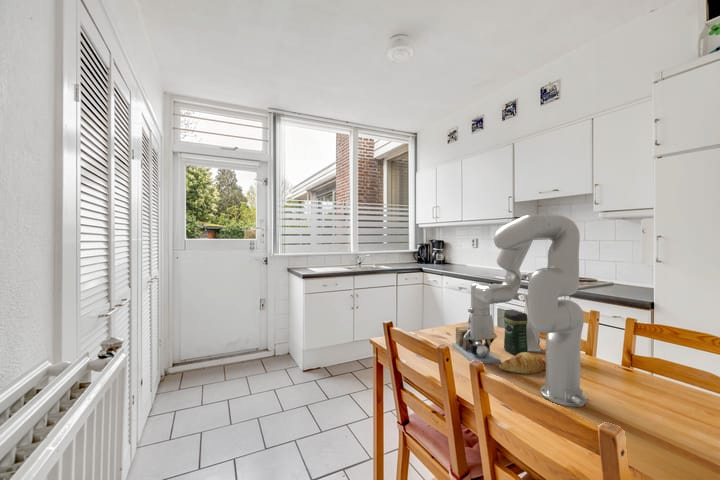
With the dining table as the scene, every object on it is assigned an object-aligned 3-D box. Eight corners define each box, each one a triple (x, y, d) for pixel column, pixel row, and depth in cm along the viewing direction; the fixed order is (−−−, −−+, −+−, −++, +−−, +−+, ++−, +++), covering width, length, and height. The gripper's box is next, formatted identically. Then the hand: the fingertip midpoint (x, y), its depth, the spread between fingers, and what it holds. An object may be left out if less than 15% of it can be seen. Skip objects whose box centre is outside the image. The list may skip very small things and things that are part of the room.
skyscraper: (546, 353, 141) (546, 290, 140) (526, 353, 142) (526, 290, 142) (538, 347, 149) (539, 287, 149) (520, 346, 151) (520, 287, 150)
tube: (489, 357, 134) (489, 345, 134) (478, 358, 134) (478, 346, 134) (474, 346, 148) (474, 335, 148) (463, 346, 148) (463, 335, 148)
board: (500, 362, 132) (500, 360, 132) (472, 364, 131) (472, 361, 131) (476, 344, 154) (476, 342, 154) (452, 345, 153) (451, 343, 153)
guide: (482, 350, 143) (482, 339, 143) (465, 351, 143) (465, 340, 142) (479, 347, 146) (479, 337, 146) (462, 348, 146) (462, 337, 145)
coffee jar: (531, 354, 140) (531, 312, 140) (515, 356, 138) (515, 313, 138) (515, 347, 150) (515, 307, 149) (500, 348, 148) (500, 308, 147)
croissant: (503, 383, 122) (509, 369, 118) (491, 361, 130) (495, 347, 127) (555, 378, 124) (561, 364, 120) (539, 357, 133) (545, 343, 129)
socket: (476, 345, 149) (476, 329, 149) (459, 346, 149) (459, 329, 148) (472, 342, 154) (472, 326, 153) (455, 343, 153) (455, 327, 153)
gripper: (464, 314, 132) (465, 358, 132) (504, 313, 134) (504, 356, 134) (457, 310, 140) (457, 351, 140) (494, 308, 141) (494, 349, 142)
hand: (480, 353), depth 137 cm, fingers closed on tube, 4 cm apart
